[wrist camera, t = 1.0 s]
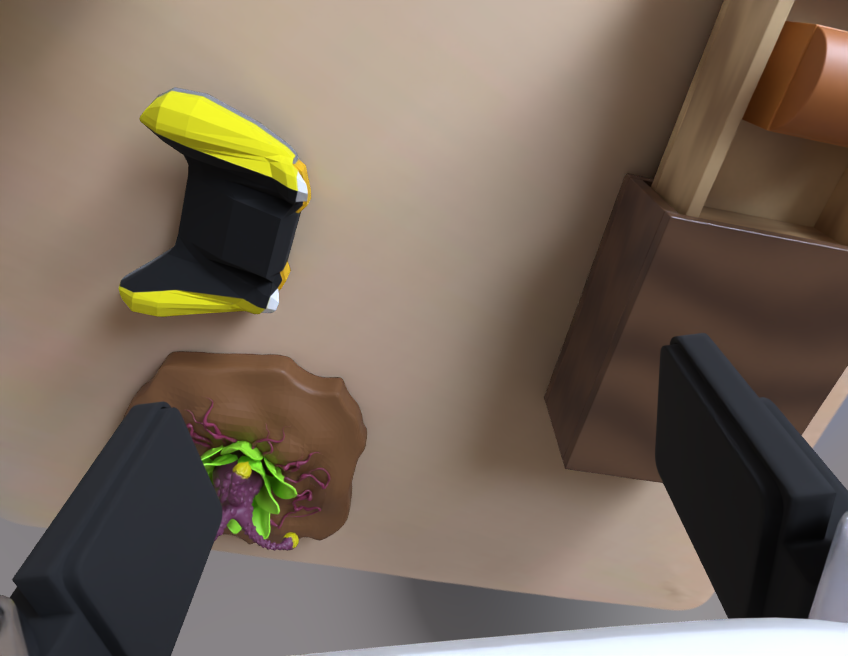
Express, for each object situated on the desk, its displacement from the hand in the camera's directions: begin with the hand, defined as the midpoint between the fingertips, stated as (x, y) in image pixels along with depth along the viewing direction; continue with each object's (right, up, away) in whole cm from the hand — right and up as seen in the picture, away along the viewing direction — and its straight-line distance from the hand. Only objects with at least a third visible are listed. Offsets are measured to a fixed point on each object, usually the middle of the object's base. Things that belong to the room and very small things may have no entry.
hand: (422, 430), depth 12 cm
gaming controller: (-13, +10, +29) cm, 34 cm away
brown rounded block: (+22, +16, +23) cm, 36 cm away
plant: (-15, -8, +40) cm, 43 cm away
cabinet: (+19, +3, +33) cm, 38 cm away
